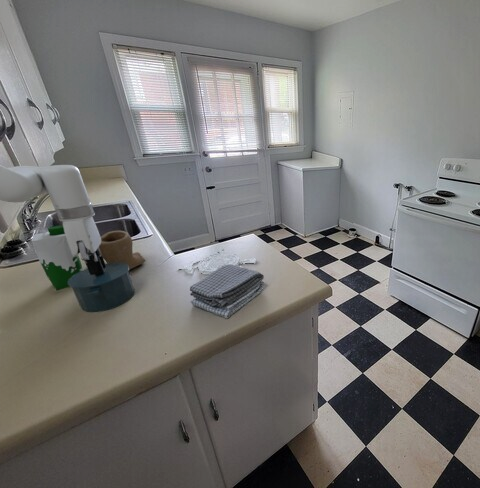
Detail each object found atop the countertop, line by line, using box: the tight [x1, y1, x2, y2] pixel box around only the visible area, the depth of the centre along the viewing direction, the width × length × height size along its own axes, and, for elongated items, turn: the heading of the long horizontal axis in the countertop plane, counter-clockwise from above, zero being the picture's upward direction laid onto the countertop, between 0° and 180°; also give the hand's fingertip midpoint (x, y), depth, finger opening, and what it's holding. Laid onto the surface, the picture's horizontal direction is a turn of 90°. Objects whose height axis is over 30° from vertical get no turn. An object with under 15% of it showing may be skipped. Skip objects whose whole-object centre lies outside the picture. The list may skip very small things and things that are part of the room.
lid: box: [68, 256, 131, 288], centre depth 80 cm, size 15×15×7 cm
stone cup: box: [99, 230, 147, 271], centre depth 100 cm, size 15×12×15 cm
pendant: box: [181, 250, 257, 276], centre depth 105 cm, size 21×28×1 cm
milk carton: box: [31, 224, 84, 291], centre depth 90 cm, size 9×9×20 cm
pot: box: [71, 270, 136, 313], centre depth 83 cm, size 14×19×8 cm
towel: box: [189, 264, 265, 319], centre depth 84 cm, size 15×18×8 cm
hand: (98, 270), depth 81 cm, fingers closed on lid, 2 cm apart
